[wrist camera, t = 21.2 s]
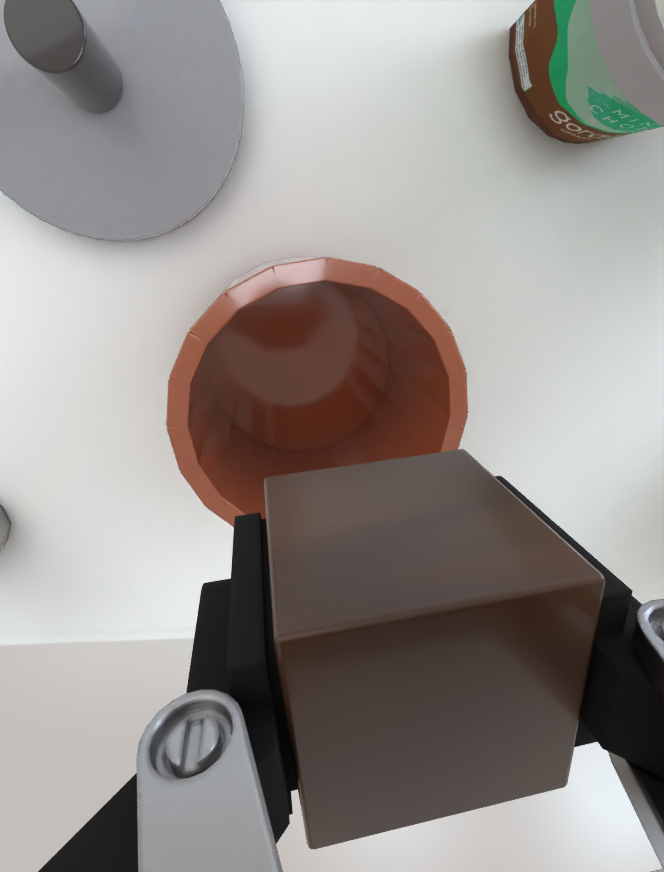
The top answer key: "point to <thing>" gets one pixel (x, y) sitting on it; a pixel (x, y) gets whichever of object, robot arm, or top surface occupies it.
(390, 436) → the canister
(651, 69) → the food container
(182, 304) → the top surface
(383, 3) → the top surface
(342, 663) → the block
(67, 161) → the lid
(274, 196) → the top surface
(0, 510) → the cup
